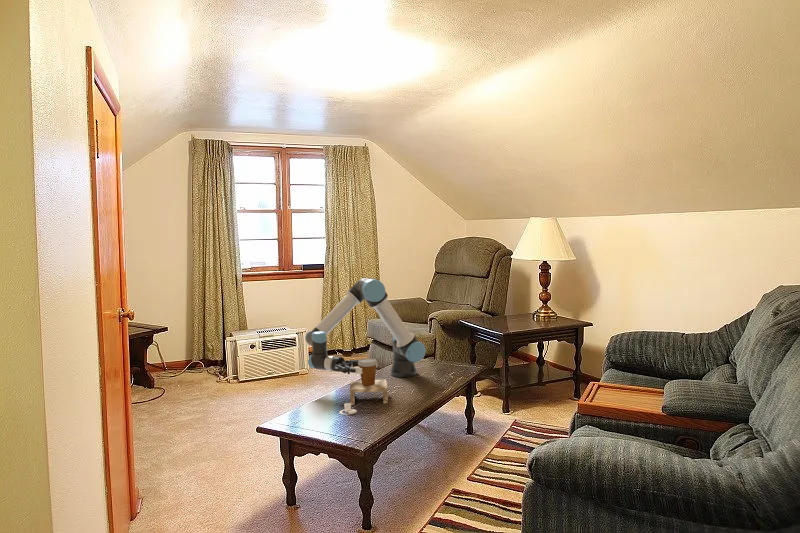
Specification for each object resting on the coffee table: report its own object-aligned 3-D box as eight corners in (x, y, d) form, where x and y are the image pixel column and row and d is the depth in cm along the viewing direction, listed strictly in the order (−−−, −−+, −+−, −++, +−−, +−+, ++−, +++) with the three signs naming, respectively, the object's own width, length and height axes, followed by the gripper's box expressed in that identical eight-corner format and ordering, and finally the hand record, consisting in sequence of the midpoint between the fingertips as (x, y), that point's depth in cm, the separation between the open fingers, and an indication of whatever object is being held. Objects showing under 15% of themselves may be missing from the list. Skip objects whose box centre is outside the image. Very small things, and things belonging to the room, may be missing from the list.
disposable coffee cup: (375, 387, 274) (374, 362, 273) (356, 386, 276) (355, 362, 275) (379, 381, 283) (379, 358, 282) (361, 381, 285) (360, 357, 284)
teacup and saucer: (357, 415, 257) (357, 406, 257) (340, 416, 256) (340, 407, 256) (355, 409, 266) (355, 400, 266) (338, 410, 264) (338, 402, 264)
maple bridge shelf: (386, 393, 288) (385, 379, 288) (387, 403, 272) (387, 387, 272) (350, 395, 287) (350, 380, 287) (350, 405, 271) (350, 389, 271)
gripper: (349, 365, 300) (383, 369, 289) (320, 376, 278) (355, 381, 268) (349, 351, 299) (382, 355, 289) (319, 361, 278) (354, 365, 267)
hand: (369, 367), depth 278 cm, fingers open, 13 cm apart
